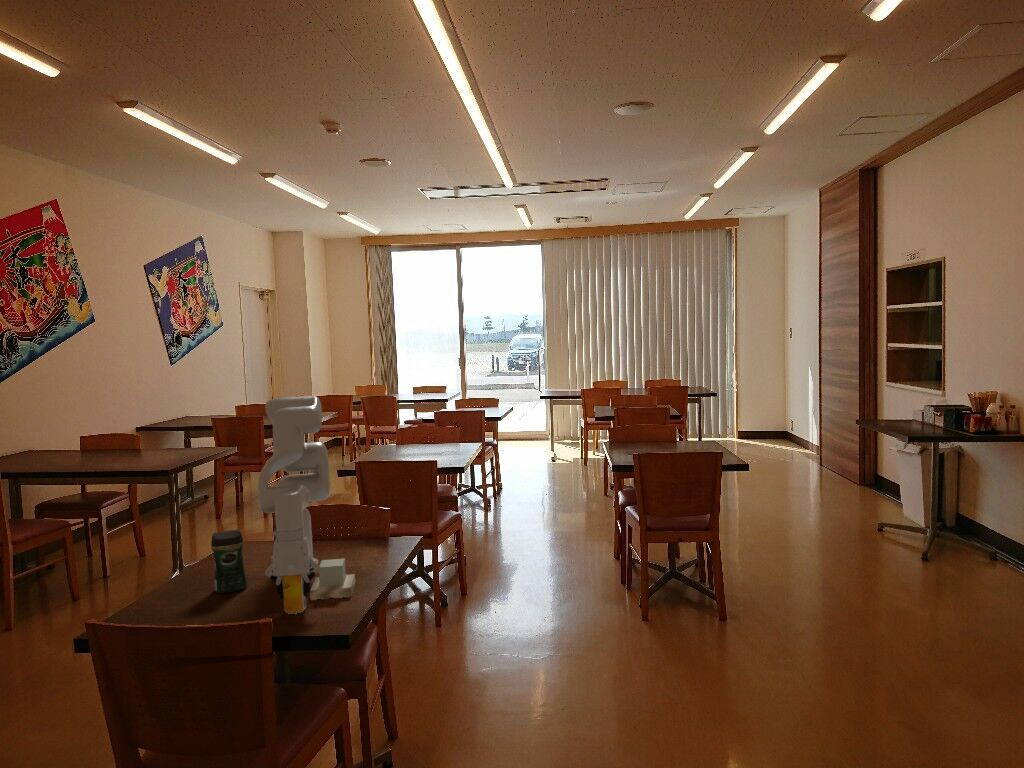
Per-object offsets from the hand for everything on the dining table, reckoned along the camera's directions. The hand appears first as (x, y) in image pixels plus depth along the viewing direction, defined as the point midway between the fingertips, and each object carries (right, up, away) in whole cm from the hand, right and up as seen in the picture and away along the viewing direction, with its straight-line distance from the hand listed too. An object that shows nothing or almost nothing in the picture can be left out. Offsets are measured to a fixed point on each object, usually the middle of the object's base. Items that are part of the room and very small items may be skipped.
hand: (294, 595), depth 211 cm
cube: (+7, 0, +15) cm, 17 cm away
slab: (+7, -3, +15) cm, 17 cm away
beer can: (0, -5, 0) cm, 5 cm away
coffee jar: (-26, -4, +22) cm, 34 cm away
